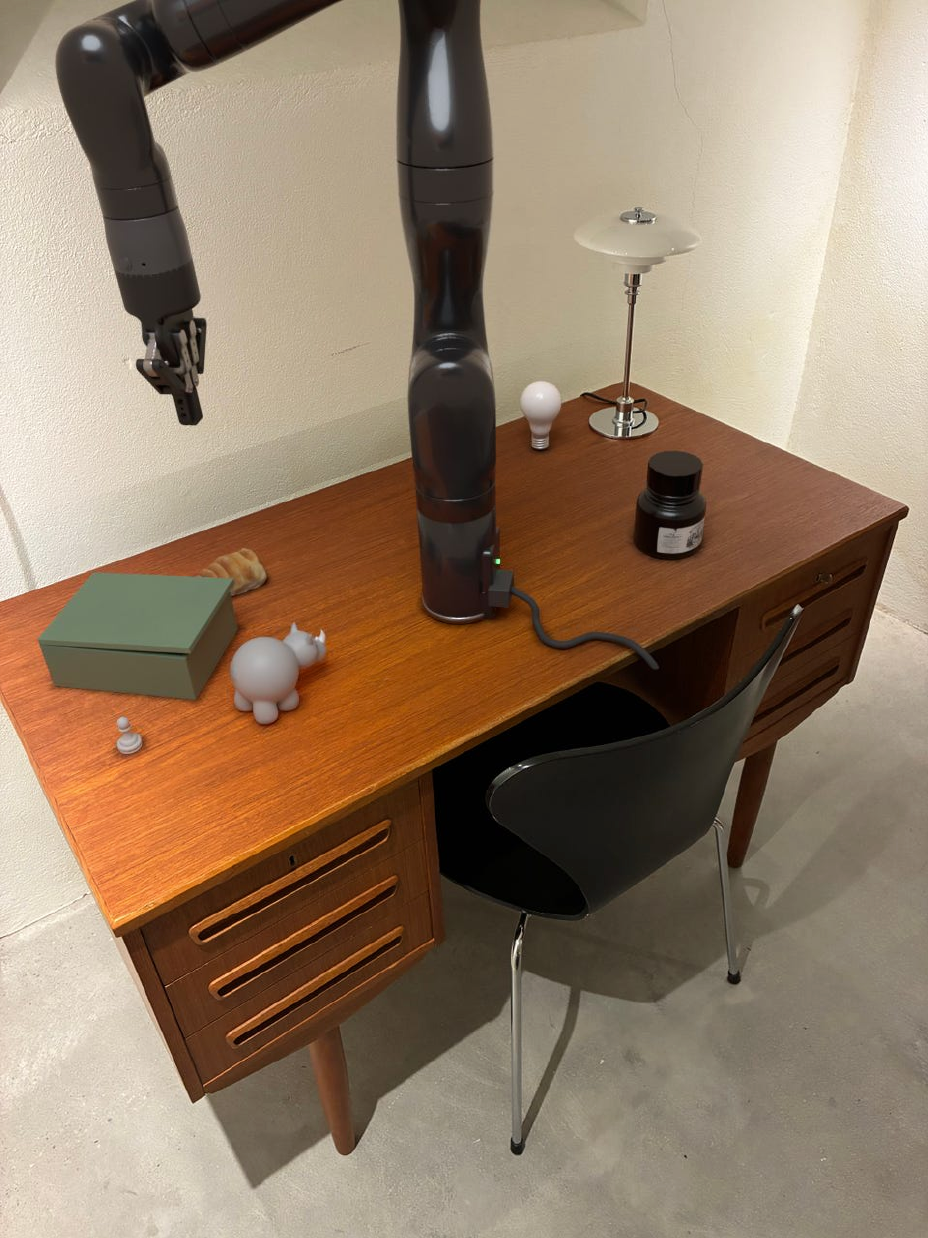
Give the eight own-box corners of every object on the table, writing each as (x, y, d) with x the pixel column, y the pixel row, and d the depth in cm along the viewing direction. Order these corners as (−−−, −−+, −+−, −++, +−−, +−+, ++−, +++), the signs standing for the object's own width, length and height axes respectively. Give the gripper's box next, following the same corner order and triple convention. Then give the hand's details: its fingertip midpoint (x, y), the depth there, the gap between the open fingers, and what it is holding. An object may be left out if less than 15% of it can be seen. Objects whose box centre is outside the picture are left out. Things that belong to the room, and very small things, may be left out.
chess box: (238, 628, 121) (229, 588, 117) (196, 700, 110) (185, 658, 107) (107, 617, 124) (95, 577, 120) (54, 686, 113) (39, 645, 110)
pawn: (116, 742, 105) (106, 714, 103) (140, 734, 106) (132, 706, 104) (120, 758, 104) (110, 729, 101) (145, 750, 104) (136, 722, 102)
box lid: (234, 583, 117) (233, 578, 116) (190, 653, 106) (189, 647, 106) (95, 577, 120) (93, 571, 119) (39, 644, 110) (36, 639, 109)
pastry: (206, 611, 124) (200, 586, 121) (182, 588, 128) (176, 564, 126) (272, 583, 128) (267, 558, 126) (246, 561, 133) (241, 537, 130)
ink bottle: (669, 570, 128) (678, 488, 120) (617, 543, 133) (623, 463, 126) (716, 541, 133) (727, 461, 125) (664, 517, 138) (672, 439, 131)
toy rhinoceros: (350, 683, 112) (342, 623, 107) (263, 737, 105) (250, 675, 100) (311, 655, 116) (302, 596, 111) (225, 705, 110) (210, 645, 104)
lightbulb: (517, 457, 154) (517, 390, 147) (522, 438, 159) (522, 373, 152) (558, 459, 153) (560, 392, 146) (562, 440, 158) (564, 374, 151)
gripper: (160, 281, 90) (201, 452, 101) (213, 237, 101) (245, 396, 111) (84, 281, 92) (133, 450, 102) (144, 238, 102) (183, 395, 112)
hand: (191, 421), depth 107 cm, fingers closed
